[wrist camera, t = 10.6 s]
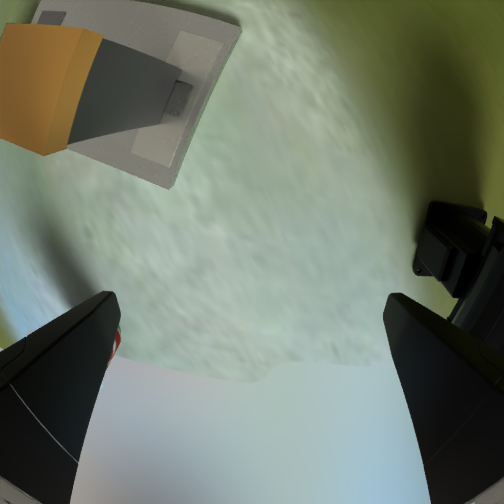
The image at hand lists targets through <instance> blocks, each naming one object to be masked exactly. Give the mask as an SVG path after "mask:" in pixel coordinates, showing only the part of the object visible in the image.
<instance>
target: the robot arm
mask: <svg viewBox="0 0 504 504" xmlns="http://www.w3.org/2000/svg"><path fill="white" fill-rule="evenodd" d="M435 205H437V207H436V209H434V207H435ZM482 214H483V216H482ZM486 219H487V212H486V211H485V210H483V209H479V208H474V207H469V206H464V205H458V204H453V203H447V202H442V201H436V200H435V201H432V202H431V203H430V205H429V209H428V213H427V218H426V222H425V226H424V227H423V230H422V234H421V238H420V242H419V246H418V249H417V253H416V255H417V256H416V260H415V263H414V266H413V272H414V273H415V275H417V276H434V277H435V278H436V280H437V281H439V282H441V283H442V285H443V286H444V287H445V288H446V290H447V291H448V292H449V293H450V295H451V296H452V297H453V298H458V301H457V303H456V305H455V307H454V309H453V310H452V312H451V314H450V316H449V317H447V319H444V318H443V317H441V316H439V315H438V314H436V313H434V312H433V311H431V310H429V309H428V308H426V307H424V306H423V305H421V304H419V303H418V302H416V301H414V300H413V299H411V298H409V297H408V296H406V295H404V294H403V293H391V294H389V296H388V299H387V302H386V306H385V309H384V312H383V321H384V325H385V329H386V333H387V338H388V342H389V346H390V351H391V355H392V358H393V361H394V364H395V367H396V370H397V373H398V376H399V379H400V382H401V386H402V389H403V392H404V395H405V398H406V402H407V405H408V408H409V412H410V415H411V419H412V422H413V426H414V430H415V433H416V437H417V441H418V445H419V449H420V453H421V457H422V461H423V465H424V471H425V475H426V480H427V485H428V490H429V495H430V500H431V504H471V503H473V502H475V504H504V220H503V219H501V218H499V217H496V216H494V218H493V221H492V224H493V225H492V228H491V229H490V228H488V227H487V226H485V223H486ZM419 268H420V270H418V269H419ZM417 270H418V271H417ZM120 318H121V312H120V308H119V305H118V301H117V297H116V294H115V293H114V292H113V291H102V292H100V293H98V294H97V295H95V296H93V297H91V298H90V299H88V300H86V301H84V302H83V303H81V304H79V305H78V306H76V307H74V308H72V309H71V310H69V311H67V312H66V313H64V314H62V315H61V316H59V317H57V318H56V319H54V320H52V321H51V322H49V323H47V324H46V325H44V326H42V327H41V328H39V329H37V330H36V331H34V332H32V333H31V334H29V335H28V336H27V337H24V338H23V339H21V340H19V341H18V342H16V343H15V344H13V345H11V346H10V347H8V348H6V349H4V350H3V351H1V352H0V504H70V499H71V494H72V489H73V484H74V480H75V476H76V472H77V467H78V462H79V458H80V454H81V450H82V447H83V443H84V439H85V435H86V432H87V428H88V425H89V421H90V418H91V414H92V411H93V408H94V405H95V402H96V398H97V395H98V392H99V389H100V386H101V383H102V380H103V377H104V374H105V371H106V369H107V366H108V363H109V360H110V357H111V354H112V350H113V346H114V342H115V338H116V334H117V330H118V326H119V322H120Z"/></svg>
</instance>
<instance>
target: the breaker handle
mask: <svg viewBox="0 0 504 504" xmlns="http://www.w3.org/2000/svg"><path fill="white" fill-rule="evenodd" d="M103 36H104V35H102V34H99V33H96V32H93V31H90V30H87V29H84V28H78V27H69V26H58V25H44V24H7V25H6V27H5V30H4V32H3V35H2V38H1V41H0V138H1V139H4V140H6V141H9V142H11V143H13V144H16V145H18V146H21V147H23V148H26V149H28V150H30V151H33V152H35V153H38V154H40V155H42V156H46V155H49V154H52V153H55V152H58V151H61V150H65V149H66V147H67V145H69V144H73V143H76V142H80V141H84V140H88V139H92V138H96V137H100V136H104V135H109V134H113V133H118V132H122V131H127V130H132V129H137V128H143V127H148V126H154V125H158V122H159V120H160V117H161V115H162V112H163V110H164V107H165V105H166V102H167V100H168V97H169V95H170V93H171V90H172V88H173V86H174V83H175V81H176V79H177V76H178V74H179V72H180V70H181V69H180V68H178V67H176V66H174V65H171V64H169V63H167V62H164V61H162V60H160V59H157V58H155V57H152V56H150V55H148V54H145V53H143V52H140V51H137V50H135V49H132V48H129V47H127V46H124V45H121V44H119V43H116V42H113V41H110V40H107V39H104V38H103Z"/></svg>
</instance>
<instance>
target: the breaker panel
mask: <svg viewBox="0 0 504 504" xmlns="http://www.w3.org/2000/svg"><path fill="white" fill-rule="evenodd" d="M7 24H16V23H6V25H7ZM31 24H44V25H58V26H69V27H78V28H84V29H87V30H90V31H93V32H96V33H99V34H102V35H104V36H103V38H104V39H107V40H110V41H113V42H116V43H119V44H121V45H124V46H127V47H129V48H132V49H135V50H137V51H140V52H143V53H145V54H148V55H150V56H152V57H155V58H157V59H160V60H162V61H164V62H167V63H169V64H171V65H174V66H176V67H178V68H180V69H181V70H180V72H179V74H178V76H177V79H176V81H175V83H174V86H173V88H172V90H171V93H170V95H169V97H168V100H167V102H166V105H165V107H164V110H163V112H162V115H161V117H160V120H159V122H158V125H154V126H148V127H143V128H137V129H132V130H127V131H122V132H118V133H113V134H109V135H104V136H100V137H96V138H92V139H88V140H84V141H80V142H76V143H73V144H69V145H67V147H66V148H67V149H69V150H72V151H75V152H77V153H80V154H82V155H85V156H87V157H90V158H92V159H95V160H97V161H100V162H102V163H105V164H107V165H110V166H112V167H115V168H117V169H120V170H122V171H125V172H127V173H129V174H132V175H134V176H137V177H139V178H142V179H144V180H146V181H149V182H151V183H154V184H156V185H158V186H161V187H163V188H166V189H168V190H169V189H170V188H171V187H172V186H174V183H175V181H176V178H177V175H178V173H179V170H180V167H181V165H182V162H183V160H184V157H185V154H186V152H187V149H188V147H189V144H190V142H191V140H192V137H193V135H194V132H195V130H196V128H197V125H198V123H199V121H200V118H201V116H202V114H203V111H204V109H205V107H206V105H207V102H208V100H209V98H210V96H211V94H212V91H213V89H214V87H215V85H216V83H217V81H218V79H219V77H220V74H221V72H222V70H223V68H224V66H225V64H226V62H227V60H228V58H229V56H230V54H231V52H232V50H233V48H234V47H235V45H236V43H237V41H238V39H239V37H240V35H241V33H242V29H241V27H239V26H236V25H233V24H230V23H227V22H224V21H220V20H217V19H214V18H210V17H207V16H203V15H200V14H196V13H192V12H188V11H184V10H180V9H175V8H171V7H166V6H161V5H156V4H150V3H145V2H138V1H132V0H41V2H40V4H39V6H38V8H37V10H36V12H35V15H34V17H33V19H32V22H31ZM5 27H6V26H5ZM4 30H5V28H4ZM3 32H4V31H3ZM2 35H3V33H2ZM1 38H2V36H1ZM0 41H1V39H0Z"/></svg>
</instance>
